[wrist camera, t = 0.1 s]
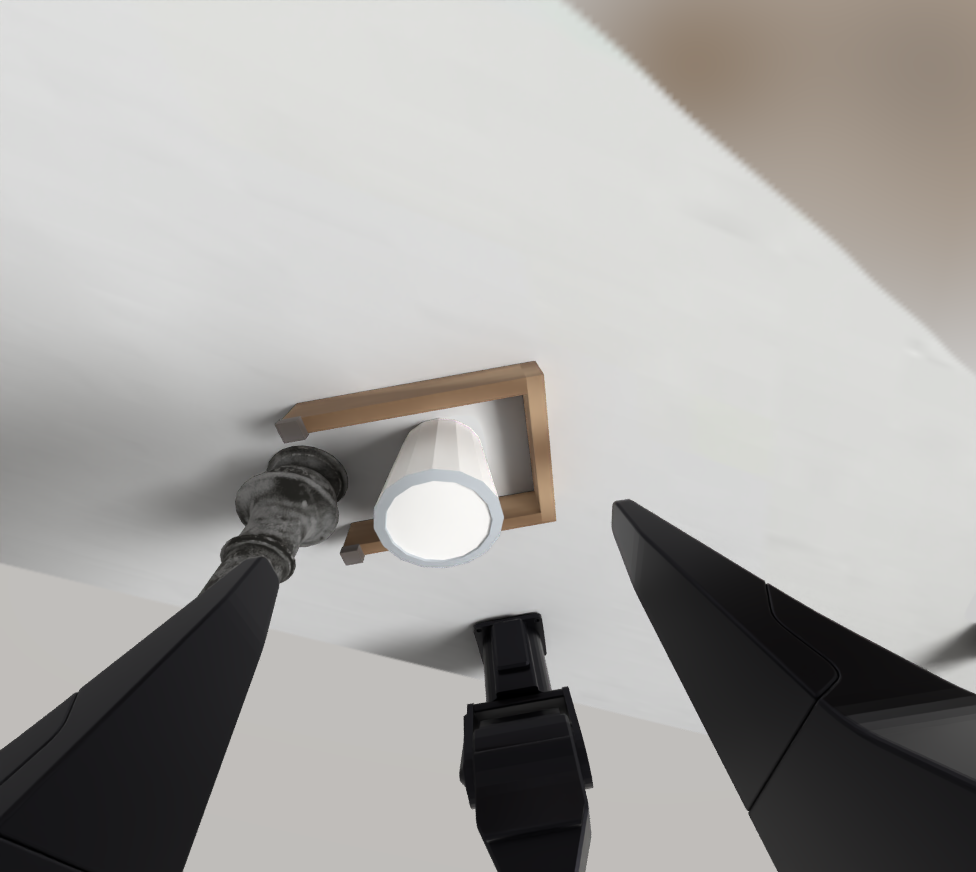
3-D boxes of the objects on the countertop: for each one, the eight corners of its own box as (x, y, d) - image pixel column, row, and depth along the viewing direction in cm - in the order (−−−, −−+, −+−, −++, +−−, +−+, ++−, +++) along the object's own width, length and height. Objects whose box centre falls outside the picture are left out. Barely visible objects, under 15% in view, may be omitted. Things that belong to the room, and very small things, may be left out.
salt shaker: (286, 517, 27) (176, 699, 16) (246, 451, 24) (82, 619, 13) (364, 503, 27) (305, 676, 16) (333, 434, 24) (238, 590, 13)
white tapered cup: (493, 490, 27) (505, 564, 21) (400, 497, 27) (384, 575, 21) (490, 405, 24) (503, 464, 18) (384, 413, 23) (359, 476, 17)
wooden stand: (548, 499, 28) (558, 528, 25) (356, 533, 28) (345, 565, 25) (534, 359, 22) (546, 376, 20) (296, 402, 22) (274, 424, 20)
